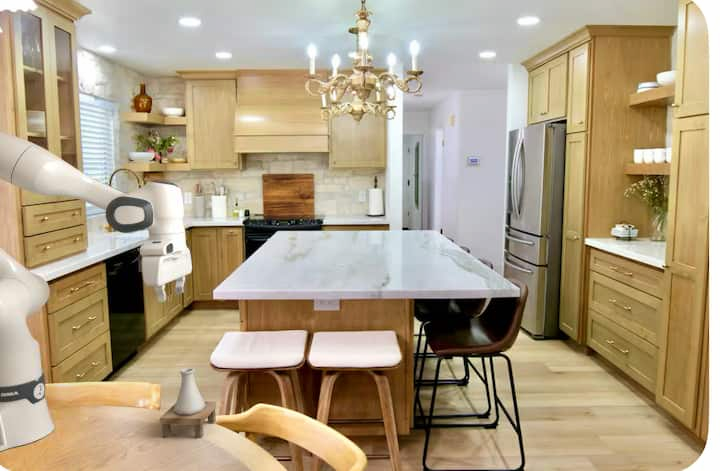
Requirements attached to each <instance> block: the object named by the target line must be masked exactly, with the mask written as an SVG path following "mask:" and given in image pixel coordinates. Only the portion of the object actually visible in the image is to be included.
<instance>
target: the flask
mask: <svg viewBox="0 0 720 471" xmlns="http://www.w3.org/2000/svg"><path fill="white" fill-rule="evenodd" d="M194 372H196V370H195V368H193V367H186V368H183V369H180V371H179V373H180V374H181V382H180V388H179V391H178V395H177V399H176V401H175V403H174V404H175V407H174V410H173V411H174V412H176V413H178V414H184V415H191V414H194V413H197V412H199V411H202V410H203V409H204V407H205V406H206V405H205V403H204V401H205V400H204V399H203V397H202V395H201V393H200V391H199V388H198V386H197V384H196V380H195V374H194Z"/></svg>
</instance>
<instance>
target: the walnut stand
mask: <svg viewBox="0 0 720 471" xmlns="http://www.w3.org/2000/svg"><path fill="white" fill-rule="evenodd" d="M203 401H204V403H205V405H206V406H205V407H204V409H203V410H202V411H199V412H197V413H194V414H191V415H184V414H178V413H176V412H174V411H173V410H174V407H175V404H176V403H174V404H173V405H172V406H171V407H170V408H169V409H168V410H167V411H166V412H165V413H164V414H162V415H161V416H160V417H159V424H160V425H161V432H162V438H163V439H169V438H170V437H171V436H172V425H185V426H187V425H189V426H192V425H193V430H194V431H193V432H194V439H197V438H201V439H202V438H203V437H204V422H205V421H206V420H207V424H210V425H211V424H212V425H213V424H215V423H216V421H217V419H216V417H217V416H216V408H217V402H216V401H207V400H206V401H205V400H203ZM202 436H203V437H202Z"/></svg>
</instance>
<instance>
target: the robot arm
mask: <svg viewBox="0 0 720 471" xmlns="http://www.w3.org/2000/svg"><path fill="white" fill-rule="evenodd" d="M0 180H2V181H4V182H6V183H9V184H11V185H13V186H14V187H17V188H19V189H22V190H24V191H26V192H27V191H28V192H30V193H34V194H37V195H41V196H49V197H50V196H51V197H65V198H73V199H76V200H80V201H83V202H85V203H88V204H90V205H92V206H95V207H97V208H98V209H101V210H104V211H105V220H106V222H107V224H108V226H110V228H112V229H113V230H114V231H116V232H119V233H121V234H134V233H137V232H141V231H146V230H147V232H148V238H147V239H146V241H144V242H143V244H142V245H141V246H140V248H139V254H140V256H143V257H142V260H141V272H142V279H143V283H144V285H145V287H148V288H149V287H151V288H153V289H154V291H155V293H156V296H157V301H158V303H165V302H167V301H168V293H166V291H165V288H166V284H168V283H170V282H173V281H176V282H175V287H174V294H175V295H181V294H183V293H184V284H185V282H186V276H188V275H189V274H191V273H192V271H193V265H192V263H193V262H192V255H191V251H190V248H189V247H188V245H187V241H186V240H187V238H186V229H185V226H184V218H185V209H184V208H185V207H184V200H183V199H184V198H183V193H182V190H181V188H180V186H178V185H177V184H176V183H174V182H170V181H163V180H156V179H154V180H153V179H152V180H149V181H148V182H146V184H144V185H143V186H141V187H139V188H137V189H136V190H133V191H131V192H125V191H123V190H120V189H118V188H115V187H113V186H111V185H108V184H107V183H104V182H102V181H99V180H97V179H95V178H93V177H91V176H89V175H87V174H85V173H84V172H83V171H80V170H79V169H78V168H76V167H74V166H72V165H71V164H70V163H68V162H66V161H65V160H64V159H62V158H60V157H59V156H58V155H56V154H55V153H52V152H51V151H49V150H47V149H46V148H44V147H43V146H40V145H38V144H36V143H33V142H32V141H29V140H28V139H27V140H26V139H24V138H21V137H19V136H17V135H13V134H9V133H7V132H5V131H4V132H3V131H0ZM50 290H51V289H50V286H49V284H48V282H47V281H46V280H45V278H44V277H42V276H40V275H38V274H36V273H33V272H32V271H30V270H29V269H27V268H26V267H24V266H23V265H22V264H20V263H19V262H18V261H17V260H16V259H14V257H12V256H11V255H9V253H8V252H6V251H5V249H3V248H2V247H1V246H0V452H2V451H5V450H9V449H11V448H15V447H20V446H23V445H27V444H30V443H34V442H36V441H38V440H40V439H42V438H43V439H44V438H45V437H47V436H48V435H49V434H51V433H52V432H53V431H54V430H55V427H56V425H55V423H54V420H53V419H52V416H51V413H50V411H49V406H48V404H47V400H46V399H47V398H46V379H45V373H44V372H43V370H42V369H43V368H42V358H41V357H42V356H41V348H40V343H39V341H37V340H36V339H35V338H33V336H32V334H31V332H30V330H29V327H28V324H27V318H28V317H30V316H32V315H34V314H36V313H37V312H39V311H40V310H41V309H42V308H43V307H44V305H46V303H47V302H48V301H49V298H50V293H51V291H50Z"/></svg>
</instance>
